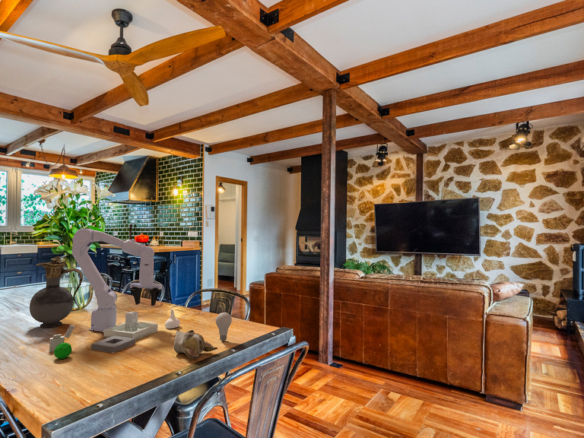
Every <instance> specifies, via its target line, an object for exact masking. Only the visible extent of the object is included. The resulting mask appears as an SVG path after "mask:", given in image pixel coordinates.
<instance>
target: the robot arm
mask: <svg viewBox="0 0 584 438" xmlns="http://www.w3.org/2000/svg"><path fill="white" fill-rule="evenodd" d="M71 240H72V248H71V249H72V250H71V255H72V256H73V258H74V259H75V261H76V263H77V264H78V266H79V267H80V270H81V272H82V274H83V275H84V276H85V278H86V280H87V282H89V284H90V286H91V287H92V289H93V291H94V296H95V298H96V300H97V301H96V303H97V307H95V308H94V309H93V310H92V311H91V315H90V328H88V330H89V331H93V330H94V332H95V331H96V332H101V333H104V330H105V329H108V328H111V327H114V326H117V315H118V314H117V309H118V307H117V305H116V302H117V300H118V294H117V293H116V292H115V291H114V290H112V289H111V287H110V286H109V285H108V284H107V283H106V282H105V280H104V278H103V277H102V274H101V273H100V272H99V270H98V268H97V266H96V265H95V263H94V262H93V260H92V258H91V256H90V255H89V253H88V252H89V250H90V247H91V245H92V244H93V243H94V242H104V243H106V244H109V245H113V246H115V247H118V248H121V250H122V252H123V253H126V254H129V255H132V256H134V257H137V258H138V257H139V258H140V263H139V278H138V282H131V283H129V288H130V292H131V294H132V296H133V298H134V299H133V300H134V303H135V305H136V306H137V305H141V296H142V291H143V289H148V290H149V294H150V306H151V307H153V306H156V304H157V300H158V297H159V295H160V293H161V292H162V290H163V284H161V283H154V271H155V270H154V268H155V267H154V266H155V264H154V262H155V260H154V256H155V250H154V249H153V247H151V246H149V245H148V246H146V244H145V243H139V242H137V241H136V240H135V239H133V238H132V239H126V240H123V239H120V238H119V237H116V236H114V235H111V234H108V233H106V232H104V231H99V230H94V229H93V228H80V229H78V230H77V231H76V232H74V234H73V237H72V239H71Z"/></svg>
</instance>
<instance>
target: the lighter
mask: <svg viewBox="0 0 584 438" xmlns="http://www.w3.org/2000/svg"><path fill="white" fill-rule="evenodd" d="M75 327H76V326H75V325H74V324H70V325H69V327H68V328H67V330H66V332H65V333H64V335H62V334H61V333H58V334H53V335H52V337H49V347H48V348H49V349H48V350H49V351H48V352H50V353H51V352H54V350H55V348H56V346H58V345H59V344H61V343H65V338H67V339H69V338H70V336H71V334H72V333H73V331H74V329H75Z"/></svg>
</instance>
